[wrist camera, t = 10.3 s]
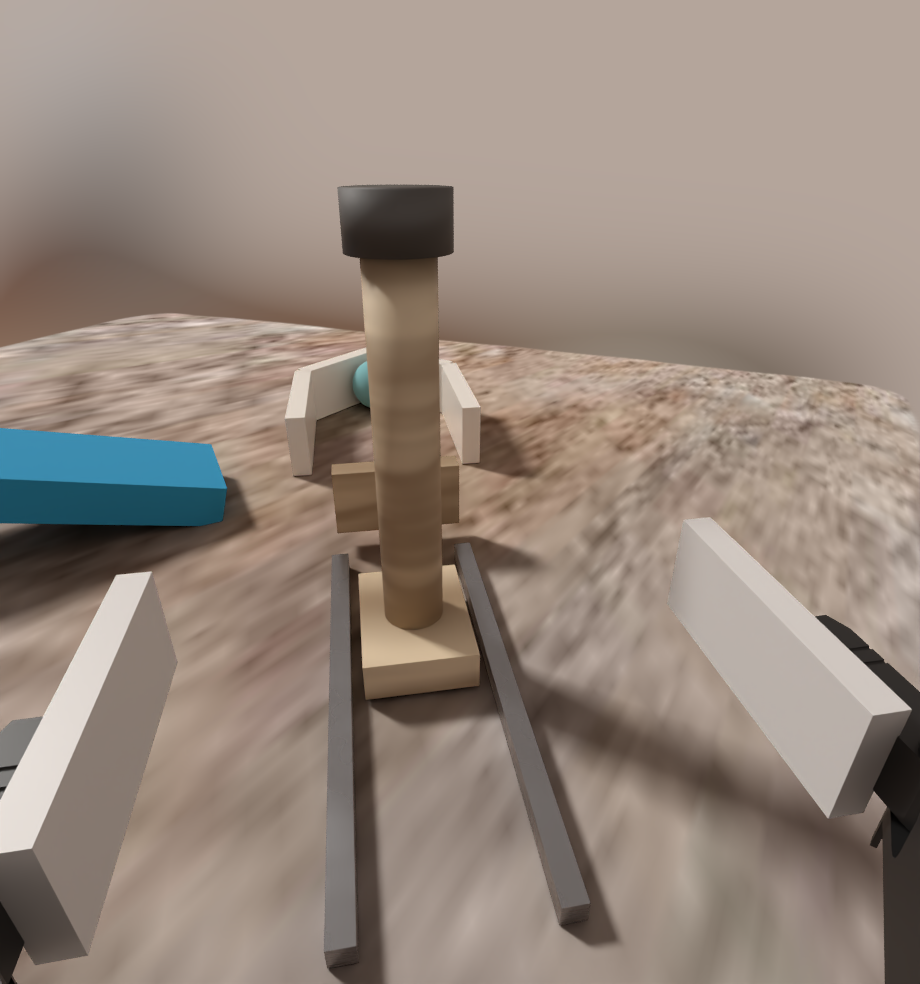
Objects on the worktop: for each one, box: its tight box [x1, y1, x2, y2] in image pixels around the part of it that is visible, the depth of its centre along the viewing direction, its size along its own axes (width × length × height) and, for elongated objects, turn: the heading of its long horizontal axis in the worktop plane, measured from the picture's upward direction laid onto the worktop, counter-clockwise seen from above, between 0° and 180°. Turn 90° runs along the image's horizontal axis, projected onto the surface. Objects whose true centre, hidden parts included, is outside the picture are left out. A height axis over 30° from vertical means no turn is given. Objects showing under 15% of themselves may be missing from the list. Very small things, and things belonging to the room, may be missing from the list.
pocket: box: [285, 348, 481, 476], centre depth 48 cm, size 16×12×4 cm
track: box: [324, 543, 591, 968], centre depth 24 cm, size 18×7×1 cm, turn 10°
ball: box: [353, 361, 370, 407], centre depth 51 cm, size 4×4×4 cm
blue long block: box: [0, 428, 227, 526], centre depth 35 cm, size 7×7×18 cm
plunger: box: [331, 185, 480, 700], centre depth 25 cm, size 12×6×17 cm, turn 10°
